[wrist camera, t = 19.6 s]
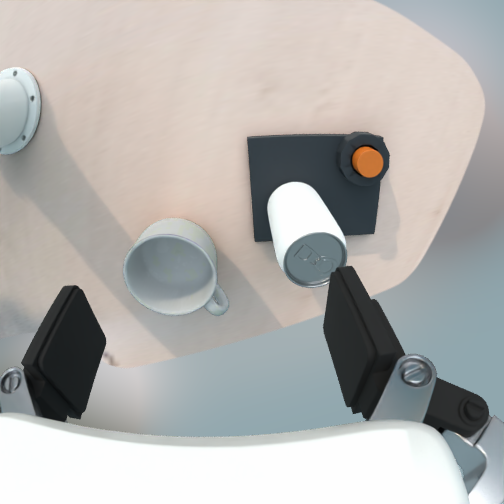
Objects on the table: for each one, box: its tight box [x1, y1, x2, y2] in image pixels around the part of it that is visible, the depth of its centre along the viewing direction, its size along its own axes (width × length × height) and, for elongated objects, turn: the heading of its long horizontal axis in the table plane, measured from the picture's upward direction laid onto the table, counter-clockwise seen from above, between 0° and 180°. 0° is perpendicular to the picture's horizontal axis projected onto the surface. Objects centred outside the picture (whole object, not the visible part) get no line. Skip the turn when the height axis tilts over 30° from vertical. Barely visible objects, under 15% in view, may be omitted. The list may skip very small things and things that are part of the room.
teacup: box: [123, 218, 229, 316], centre depth 36 cm, size 14×11×8 cm
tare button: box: [352, 146, 383, 178], centre depth 30 cm, size 3×3×2 cm
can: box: [267, 182, 347, 288], centre depth 30 cm, size 6×6×12 cm
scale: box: [247, 132, 390, 242], centre depth 34 cm, size 16×14×3 cm
